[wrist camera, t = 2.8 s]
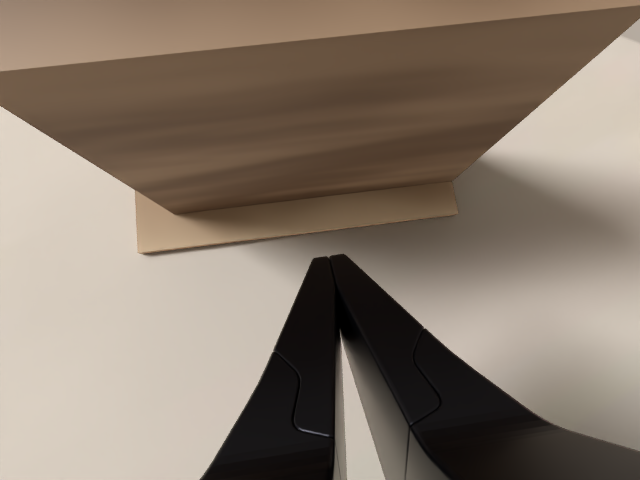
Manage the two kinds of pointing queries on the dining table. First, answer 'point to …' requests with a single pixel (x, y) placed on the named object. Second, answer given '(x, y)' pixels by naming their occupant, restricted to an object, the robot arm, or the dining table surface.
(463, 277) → the dining table surface
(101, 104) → the brown wooden slab
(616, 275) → the dining table surface
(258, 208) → the light tan wooden board
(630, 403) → the dining table surface
